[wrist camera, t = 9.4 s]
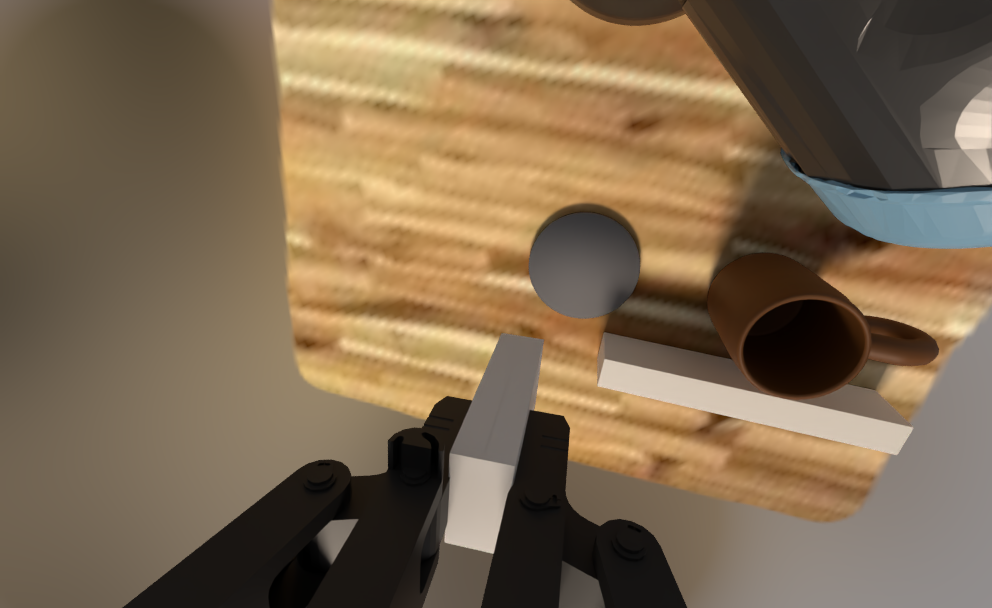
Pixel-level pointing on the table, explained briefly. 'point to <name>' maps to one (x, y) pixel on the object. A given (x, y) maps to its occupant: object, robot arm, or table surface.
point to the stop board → (746, 394)
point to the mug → (802, 329)
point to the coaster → (584, 265)
